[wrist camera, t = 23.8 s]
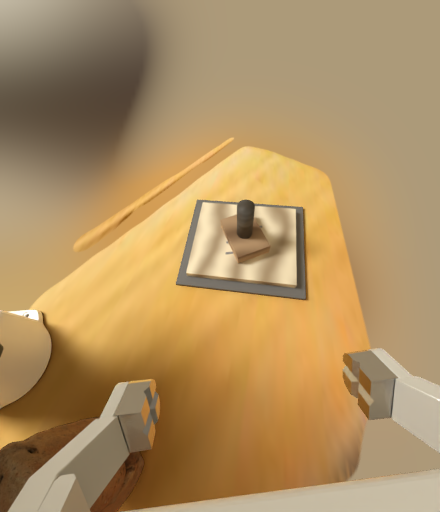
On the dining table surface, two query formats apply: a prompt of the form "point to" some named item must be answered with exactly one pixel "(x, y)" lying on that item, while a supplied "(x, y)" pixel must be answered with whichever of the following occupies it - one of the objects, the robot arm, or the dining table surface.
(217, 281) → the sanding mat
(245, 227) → the sanding block
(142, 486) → the dining table surface
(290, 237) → the board
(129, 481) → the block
